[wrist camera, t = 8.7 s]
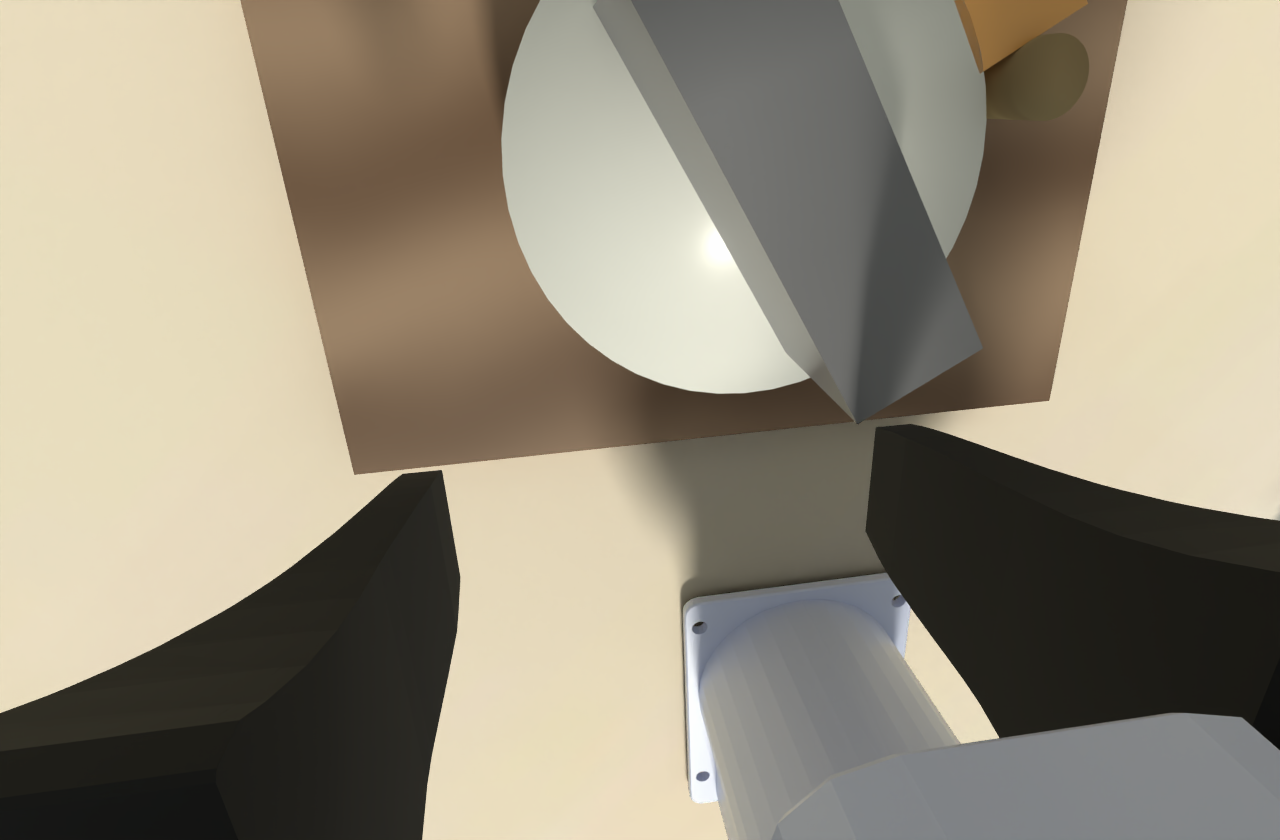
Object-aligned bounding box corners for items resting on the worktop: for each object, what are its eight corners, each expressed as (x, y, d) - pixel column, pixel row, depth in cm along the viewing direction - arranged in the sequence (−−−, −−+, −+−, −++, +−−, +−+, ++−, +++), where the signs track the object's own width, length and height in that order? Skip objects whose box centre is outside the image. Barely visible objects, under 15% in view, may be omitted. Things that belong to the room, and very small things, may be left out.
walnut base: (1018, 382, 23) (1132, 449, 19) (365, 450, 21) (322, 542, 17) (1124, -223, 17) (1331, -336, 12) (213, -214, 15) (81, -344, 10)
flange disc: (661, 451, 18) (704, 569, 14) (399, 76, 14) (337, 65, 10) (1104, 177, 17) (1313, 206, 12) (957, -324, 13) (1190, -554, 8)
